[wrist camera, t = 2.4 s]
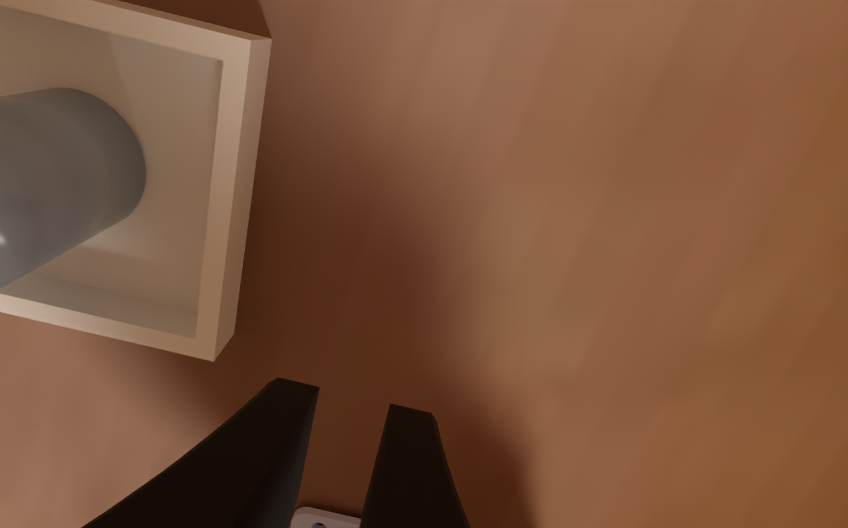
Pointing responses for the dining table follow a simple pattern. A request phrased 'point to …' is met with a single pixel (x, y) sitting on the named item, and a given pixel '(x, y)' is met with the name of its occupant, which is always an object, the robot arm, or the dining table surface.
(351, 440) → the dining table surface
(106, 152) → the grey rounded dome
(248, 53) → the tray
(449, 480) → the robot arm
